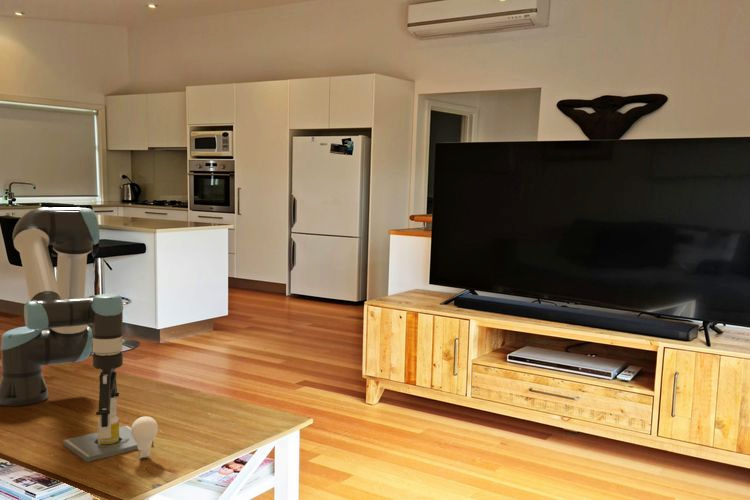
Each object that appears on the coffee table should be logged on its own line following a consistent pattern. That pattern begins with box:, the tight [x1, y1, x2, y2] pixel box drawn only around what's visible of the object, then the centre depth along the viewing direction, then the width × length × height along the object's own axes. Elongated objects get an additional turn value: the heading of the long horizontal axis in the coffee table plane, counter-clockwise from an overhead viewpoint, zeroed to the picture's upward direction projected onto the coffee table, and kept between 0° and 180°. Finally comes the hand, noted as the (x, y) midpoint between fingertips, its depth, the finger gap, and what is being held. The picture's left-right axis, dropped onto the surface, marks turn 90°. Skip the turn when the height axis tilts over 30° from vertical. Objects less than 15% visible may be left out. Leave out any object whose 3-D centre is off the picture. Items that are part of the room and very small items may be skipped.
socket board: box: [62, 425, 154, 463], centre depth 185 cm, size 16×18×1 cm
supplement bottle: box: [97, 408, 120, 445], centre depth 185 cm, size 5×5×10 cm
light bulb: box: [131, 415, 159, 459], centre depth 176 cm, size 7×7×11 cm
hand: (108, 429), depth 185 cm, fingers open, 13 cm apart
